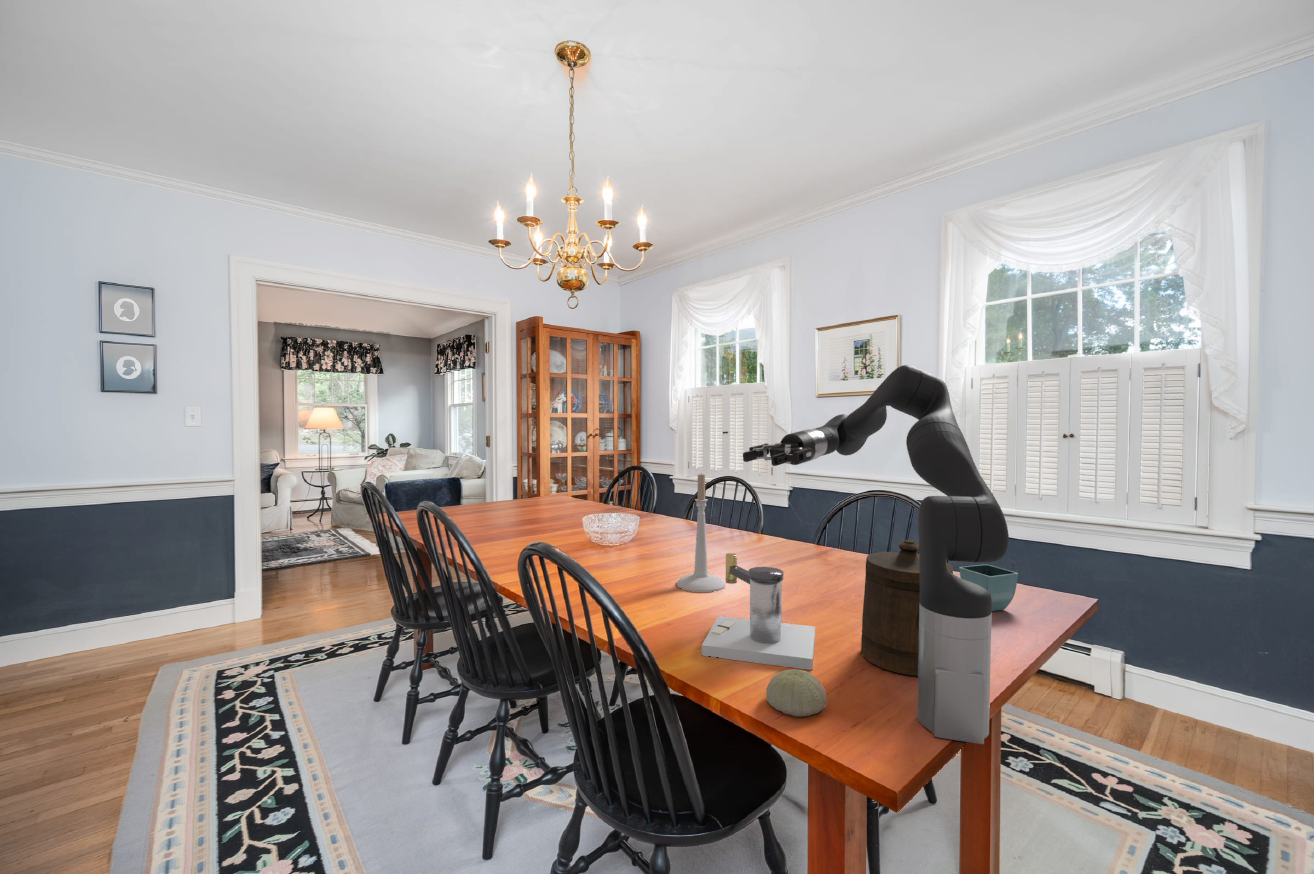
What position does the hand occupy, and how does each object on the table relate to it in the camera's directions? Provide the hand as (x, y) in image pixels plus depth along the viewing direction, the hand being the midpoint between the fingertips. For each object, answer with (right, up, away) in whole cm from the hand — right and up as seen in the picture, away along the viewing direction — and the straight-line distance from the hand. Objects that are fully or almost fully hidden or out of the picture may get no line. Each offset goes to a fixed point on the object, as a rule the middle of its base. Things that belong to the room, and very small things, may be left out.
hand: (758, 459), depth 125 cm
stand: (-2, -36, -16) cm, 39 cm away
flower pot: (+55, -35, +6) cm, 65 cm away
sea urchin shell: (-1, -37, -38) cm, 53 cm away
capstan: (-4, -33, -12) cm, 35 cm away
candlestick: (-11, -35, +24) cm, 43 cm away
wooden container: (+23, -36, -22) cm, 48 cm away
